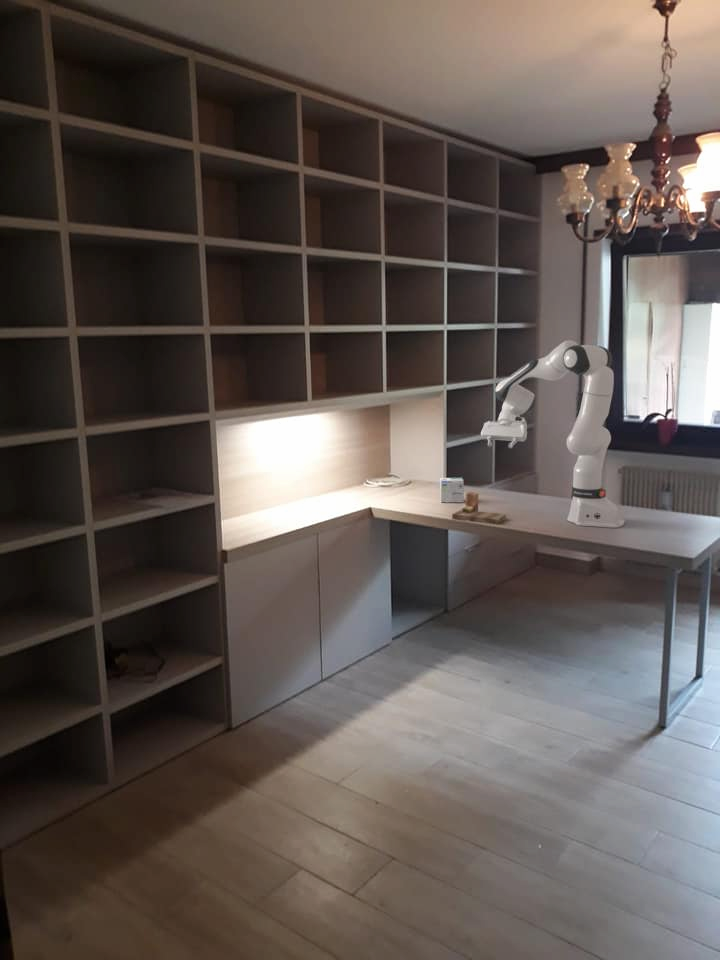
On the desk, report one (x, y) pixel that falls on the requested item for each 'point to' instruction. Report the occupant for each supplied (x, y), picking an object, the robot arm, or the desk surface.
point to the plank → (479, 516)
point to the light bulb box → (451, 490)
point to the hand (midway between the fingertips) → (499, 446)
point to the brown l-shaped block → (471, 502)
